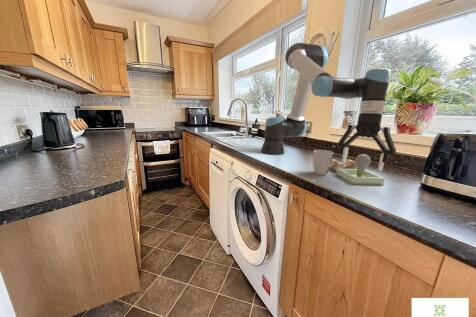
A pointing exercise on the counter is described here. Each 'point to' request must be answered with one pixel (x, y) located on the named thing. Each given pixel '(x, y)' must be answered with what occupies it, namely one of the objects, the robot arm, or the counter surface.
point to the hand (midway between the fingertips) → (360, 166)
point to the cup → (322, 161)
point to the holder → (339, 165)
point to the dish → (366, 178)
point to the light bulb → (362, 163)
